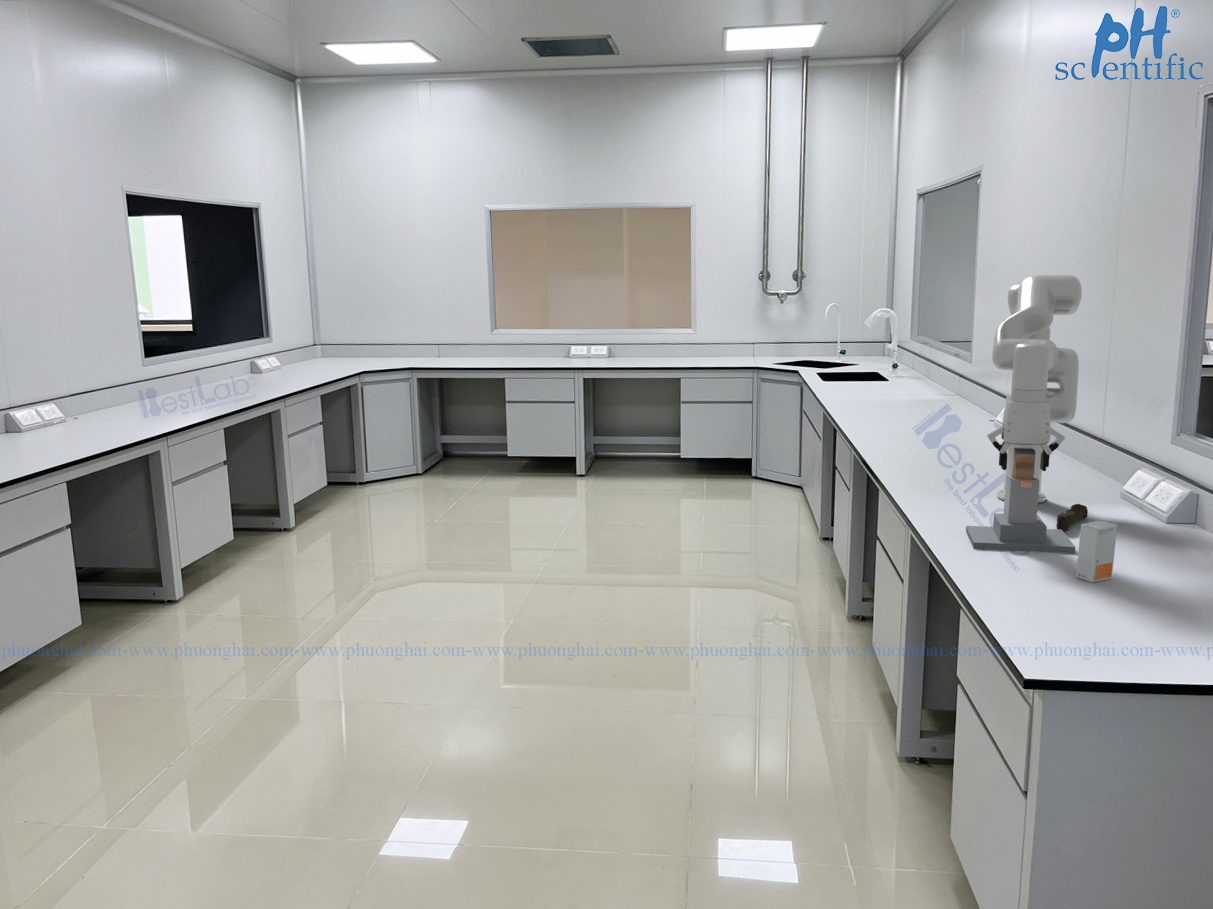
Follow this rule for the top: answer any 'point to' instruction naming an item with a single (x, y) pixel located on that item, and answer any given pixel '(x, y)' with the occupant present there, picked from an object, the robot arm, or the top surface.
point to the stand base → (1020, 524)
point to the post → (1023, 463)
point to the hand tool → (1071, 517)
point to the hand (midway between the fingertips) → (1023, 469)
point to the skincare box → (1096, 551)
